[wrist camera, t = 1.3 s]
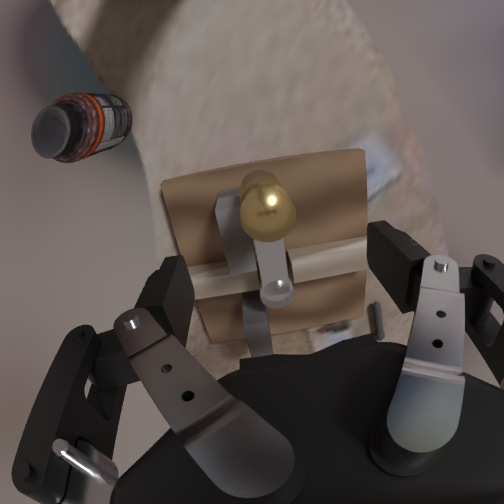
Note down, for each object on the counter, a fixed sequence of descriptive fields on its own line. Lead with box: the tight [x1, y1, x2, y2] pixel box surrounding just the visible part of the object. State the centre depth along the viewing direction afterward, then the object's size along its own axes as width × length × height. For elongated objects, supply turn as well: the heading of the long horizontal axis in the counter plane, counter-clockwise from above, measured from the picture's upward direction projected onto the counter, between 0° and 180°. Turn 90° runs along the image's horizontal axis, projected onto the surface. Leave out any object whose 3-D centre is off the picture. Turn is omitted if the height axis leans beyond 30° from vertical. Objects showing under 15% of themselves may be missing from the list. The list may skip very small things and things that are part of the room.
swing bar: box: [240, 170, 296, 308], centre depth 22 cm, size 13×3×7 cm, turn 10°
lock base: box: [160, 149, 369, 357], centre depth 29 cm, size 22×21×8 cm
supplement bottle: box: [31, 93, 132, 163], centre depth 19 cm, size 6×6×11 cm
